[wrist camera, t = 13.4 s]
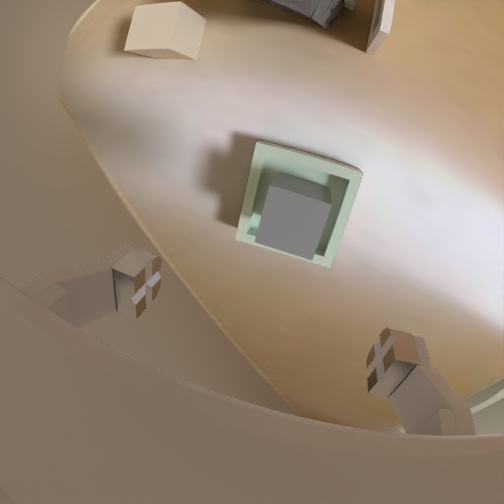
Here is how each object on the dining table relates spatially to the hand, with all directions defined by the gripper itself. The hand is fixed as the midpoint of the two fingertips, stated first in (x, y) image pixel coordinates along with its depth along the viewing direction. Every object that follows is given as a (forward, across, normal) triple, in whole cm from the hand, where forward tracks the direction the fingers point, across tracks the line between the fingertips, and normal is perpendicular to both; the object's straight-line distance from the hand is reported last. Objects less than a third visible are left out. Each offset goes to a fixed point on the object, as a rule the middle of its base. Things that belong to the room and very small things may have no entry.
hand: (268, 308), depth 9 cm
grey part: (+14, 0, +1) cm, 14 cm away
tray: (+15, 0, +1) cm, 15 cm away
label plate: (+16, -2, -16) cm, 23 cm away
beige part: (+15, +13, -11) cm, 23 cm away
